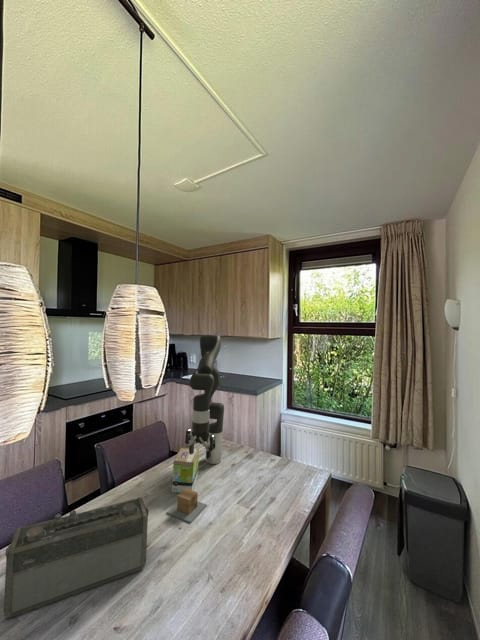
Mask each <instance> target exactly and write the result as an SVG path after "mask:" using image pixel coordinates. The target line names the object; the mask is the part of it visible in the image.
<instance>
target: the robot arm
mask: <svg viewBox="0 0 480 640" xmlns="http://www.w3.org/2000/svg"><path fill="white" fill-rule="evenodd" d="M221 346H222V339H221V336H220V335H219V334H202V335H201V336H200V337H199V347H200V348H199V349H200V356H201V358H200V360H199V363H198V366H197V368H196V369H195V371H193V373H192V375H191V376H190V378H189V386H190V388H191V389H192V390H194V391H203V393H201V394H196V395H195V396H194V397H193V402H192V403H193V404H192V415H191V416H192V417H191V418H192V419H191V428H188V429H187V430H186V431H185V437H184V438H185V439H184V443H185V445H188V448H189V453H190V455H192V454H193V453H194V448H195V443H197V444H200V445H202V446H203V447H204V448H205V462H206V464H211V465H216V464H217V465H218V464H220V463H221V462H222V458H223V427H224V414H225V406H224V403H222V402H215V401H214V402H213V401H212V398H213V396H214V395H215V393H216V392H217V390H218V388H219V386H220V384H221V382H220V381H221V376H220V371H219V369H218V367H217V366H216V365H215V361H216V359H217V357H218V356H219V354H220V351H221ZM210 420H216V421H215V422H211V423H210Z"/></svg>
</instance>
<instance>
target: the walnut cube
mask: <svg viewBox="0 0 480 640" xmlns="http://www.w3.org/2000/svg"><path fill="white" fill-rule="evenodd" d="M198 493H199V492H198V491H195V490H193V491H192V490H189V489H185V490H184V491H183V492H182V493H179V494H178V495H177V510H178V511H180V512H183V513H185V514H188V515H189V514H190V513H191V512H192V511H193V510H194V509H195V508H196V507H197V501H198V498H199V497H198V495H199V494H198Z"/></svg>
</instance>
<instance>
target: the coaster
mask: <svg viewBox="0 0 480 640" xmlns="http://www.w3.org/2000/svg"><path fill="white" fill-rule="evenodd" d="M207 507H208V504H207V503H203V502H201V501H198V500H197V507H196V508H195V509H194V510H193V511H192V512H191V513H190V514H189V515H188V514H185V513H183V512H180V511H178V510H177V503H176V502H175V504H174V505H173V506H172V507H171V508H169V509H168V510H167V512H166V514H167V515H169V516H172V517H174V518H177V519H179V520H181V521H184V522H186V523H189V524H191V523H193V522H194V520H196V518H197V517H198V516H199V515H200V514H201V513H202V512H203V511H204V510H205V509H206V508H207Z"/></svg>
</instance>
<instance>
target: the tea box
mask: <svg viewBox="0 0 480 640" xmlns="http://www.w3.org/2000/svg"><path fill="white" fill-rule="evenodd" d="M199 454H200V449H199V448H197V447H196V448H195V447H194V453H193V454H192V455H190V453H189V447H180V448H179V451H178V452H177V454H176V456H175V458H174V459H173V465H172V480H171V481H172V484H171V493H176V494H177V493H179V494H180V493H182V492H183V491H184V490H185V489H189V490H192V491H194V488H195V485H196V482H197V479H198V476H199V474H198V473H199V457H200V455H199Z"/></svg>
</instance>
